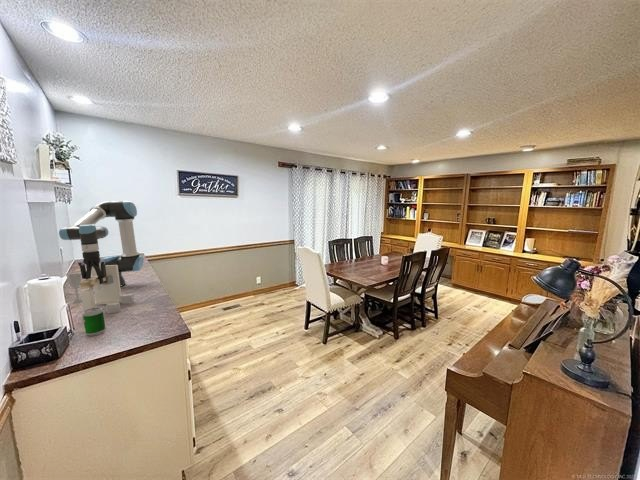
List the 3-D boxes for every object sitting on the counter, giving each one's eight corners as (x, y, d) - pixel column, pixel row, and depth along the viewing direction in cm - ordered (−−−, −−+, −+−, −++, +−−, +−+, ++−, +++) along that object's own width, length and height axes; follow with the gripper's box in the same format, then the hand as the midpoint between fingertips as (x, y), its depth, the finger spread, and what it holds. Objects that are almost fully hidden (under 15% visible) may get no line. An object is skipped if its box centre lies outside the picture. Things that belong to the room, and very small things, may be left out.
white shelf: (97, 302, 170) (92, 266, 166) (122, 300, 172) (117, 264, 169) (74, 315, 150) (68, 274, 146) (102, 313, 152) (96, 273, 149)
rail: (101, 279, 166) (100, 273, 165) (108, 279, 167) (107, 273, 166) (80, 289, 148) (79, 282, 148) (88, 288, 149) (87, 281, 148)
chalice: (67, 304, 167) (63, 276, 165) (74, 300, 174) (70, 273, 171) (81, 302, 169) (77, 275, 167) (87, 299, 176) (83, 272, 173)
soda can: (109, 329, 134) (106, 306, 132) (97, 336, 126) (94, 312, 124) (94, 329, 133) (91, 306, 132) (81, 337, 126) (77, 313, 124)
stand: (123, 302, 170) (122, 294, 169) (133, 301, 171) (132, 294, 170) (106, 313, 153) (105, 305, 152) (118, 312, 154) (117, 304, 153)
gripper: (69, 252, 149) (75, 292, 153) (103, 251, 152) (108, 290, 156) (78, 250, 157) (84, 288, 160) (110, 249, 160) (115, 286, 163)
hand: (96, 289), depth 158 cm, fingers closed on rail, 4 cm apart
